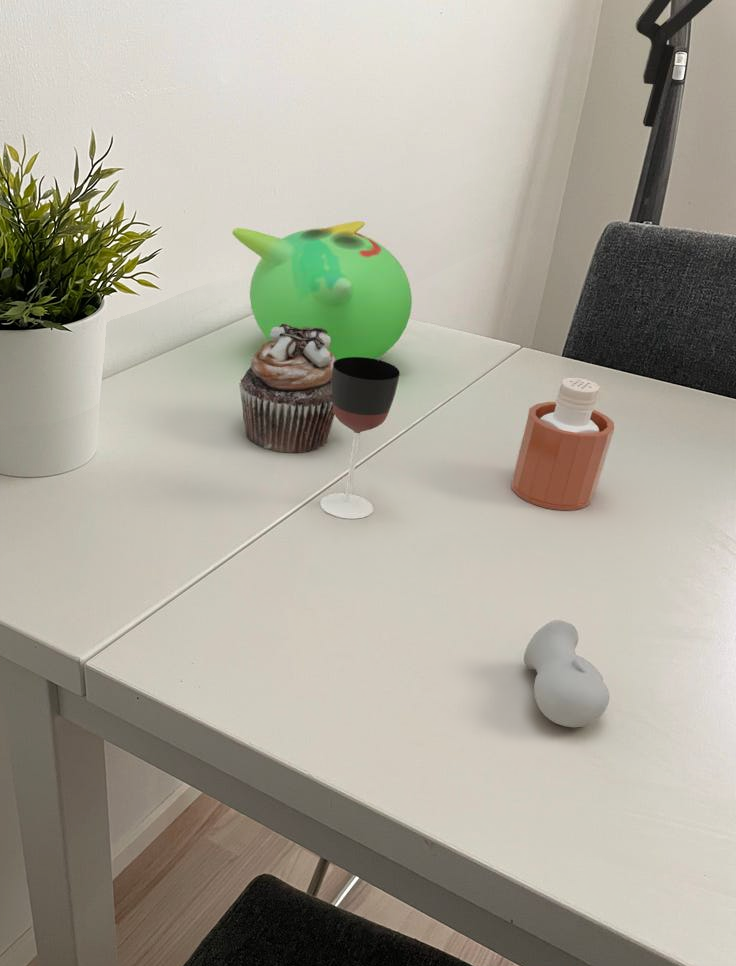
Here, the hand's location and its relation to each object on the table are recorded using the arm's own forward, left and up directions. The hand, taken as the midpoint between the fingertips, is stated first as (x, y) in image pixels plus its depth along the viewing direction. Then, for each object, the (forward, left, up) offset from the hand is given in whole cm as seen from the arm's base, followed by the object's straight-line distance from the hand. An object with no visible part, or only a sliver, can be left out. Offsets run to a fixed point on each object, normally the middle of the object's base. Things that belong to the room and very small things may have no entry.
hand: (722, 134), depth 93 cm
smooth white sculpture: (+8, +57, -27) cm, 64 cm away
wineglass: (+26, +36, -27) cm, 52 cm away
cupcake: (+34, +24, -27) cm, 50 cm away
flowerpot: (+9, +26, -27) cm, 38 cm away
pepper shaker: (+9, +26, -26) cm, 38 cm away
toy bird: (+35, +3, -27) cm, 44 cm away
